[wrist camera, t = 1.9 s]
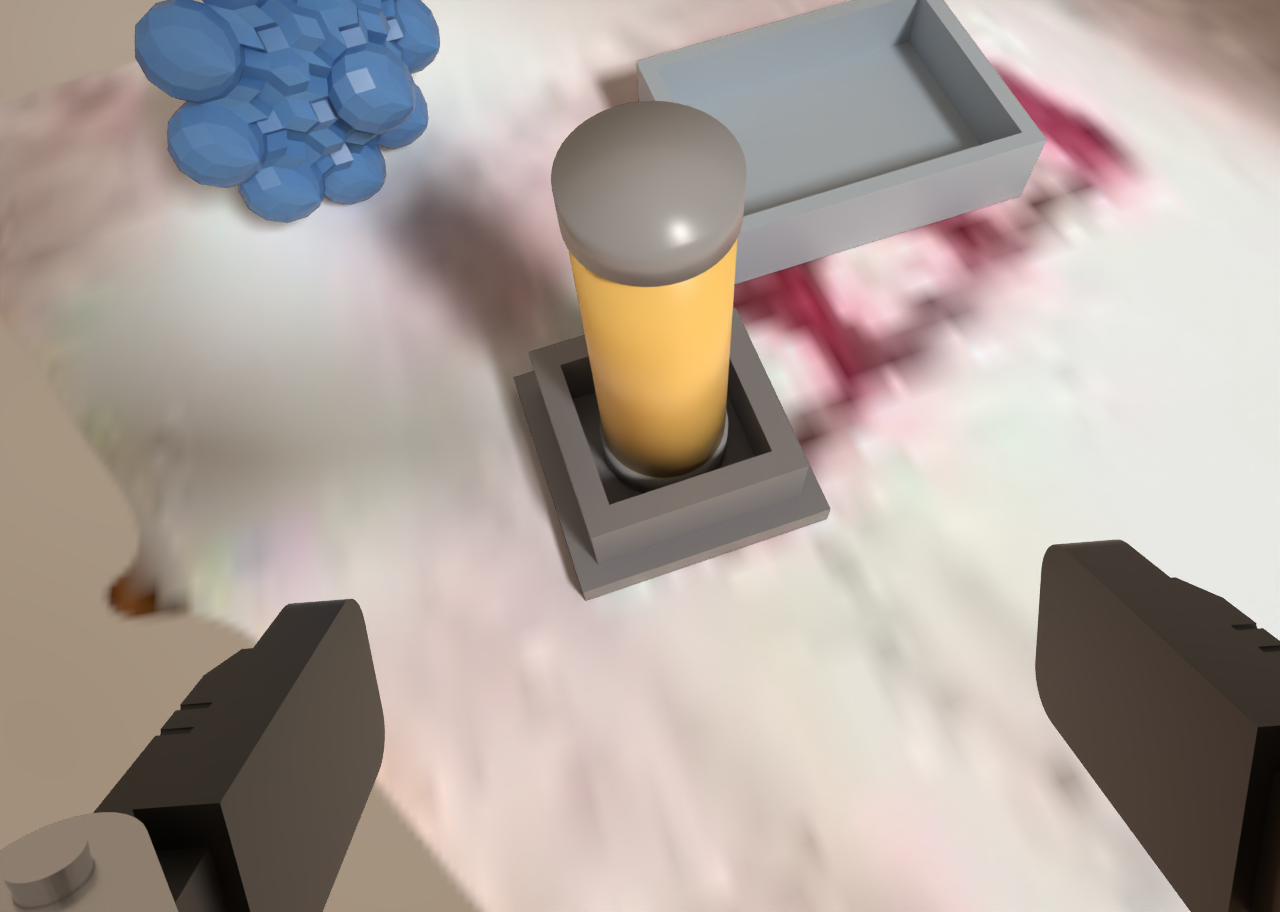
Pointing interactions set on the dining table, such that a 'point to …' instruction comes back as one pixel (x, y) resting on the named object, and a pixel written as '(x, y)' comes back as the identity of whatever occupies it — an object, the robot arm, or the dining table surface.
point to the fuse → (655, 280)
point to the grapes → (289, 93)
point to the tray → (853, 125)
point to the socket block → (678, 513)
